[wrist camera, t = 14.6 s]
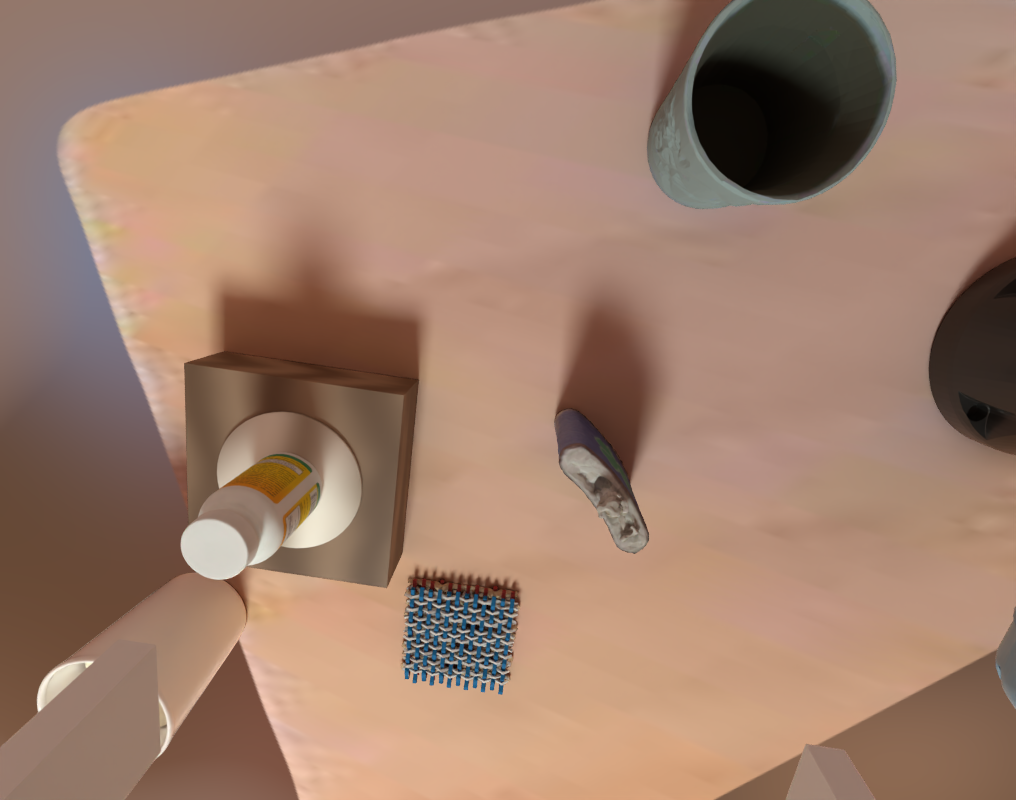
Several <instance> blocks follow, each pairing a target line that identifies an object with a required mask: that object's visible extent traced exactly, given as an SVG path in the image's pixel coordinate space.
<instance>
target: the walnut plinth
mask: <svg viewBox="0 0 1016 800" xmlns="http://www.w3.org/2000/svg"><path fill="white" fill-rule="evenodd" d="M184 370H185V410H186V451H187V491H188V526H189V525H190V524H191V523H192V522H193V521H194V520H196V519H197V518H198V515H199V512H200V509H201V507H202V505H203V503H204V502H205V501H206V499H207V498H208V497H209V496H211V495H212V494H213V493H214V492H216V491H217V490H219V489H220V488H221V487H223V486H224V485H226V484H227V483H228V482H230V481H231V480H233V479H234V478H236V477H237V476H238V475H240V474H241V473H243V472H244V471H245V470H247V469H248V468H250V467H251V466H253V465H254V464H256V463H257V462H258V461H260V460H261V459H263V458H264V457H266V456H268V455H271V454H274V453H280V452H287V453H292V454H295V455H298V456H300V457H302V458H303V459H305V460H307V461H308V462H309V463H311V464H312V465H313V466H314V468H315V469H316V471H317V472H318V474H319V476H320V479H321V482H322V496H321V499H320V502H319V504H318V505H317V507H316V508H315V509H314V511H313V512H312V513H311V514H310V515H309V516H308V517H307V518H306V519H305V520H304V522H303V523H302V524H301V525H300V526H299V527H298V528H297V529H296V530H295V531H294V532H293V534H292V535H291V536H290V537H289V538H288V539H287V540H286V541H285V542H284V543H283V545H282V546H281V547H280V548H279V549H278V550H277V551H276V552H275V553H274V554H273V555H272V556H271V557H269V558H268V559H266V560H265V561H263V562H260V563H258V564H254V565H248V566H246V567H251V568H257V569H264V570H271V571H277V572H284V573H291V574H297V575H304V576H311V577H317V578H324V579H330V580H337V581H344V582H350V583H357V584H364V585H370V586H377V587H384V588H387V586H388V584H389V582H390V580H391V578H392V575H393V573H394V571H395V569H396V566H397V564H398V562H399V560H400V558H401V555H402V549H403V539H404V529H405V518H406V508H407V497H408V487H409V476H410V466H411V455H412V445H413V434H414V424H415V413H416V403H417V393H418V382H419V380H416V379H409V378H402V377H395V376H389V375H382V374H375V373H368V372H361V371H354V370H347V369H341V368H334V367H327V366H320V365H313V364H306V363H299V362H293V361H286V360H279V359H272V358H265V357H258V356H252V355H245V354H238V353H231V352H220V353H217V354H214V355H210V356H207V357H204V358H200V359H197V360H193V361H190V362H187V363H184Z"/></svg>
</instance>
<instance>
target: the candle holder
mask: <svg viewBox="0 0 1016 800" xmlns="http://www.w3.org/2000/svg"><path fill="white" fill-rule="evenodd" d="M245 624H246V609H245V606H244V603H243V601H242V599H241V597H240V596H239V594H238V593H237V592H236V590H235V589H234V588H233V587H232V586H231V585H229V584H228V583H227V582H225V581H224V580H215V579H210V578H207V577H204V576H202V575H200V574H199V573H197V572H191V573H185V574H182V575H179V576H177V577H175V578H173V579H172V580H170V581H168V582H167V583H165V584H164V585H163V586H162V587H160V588H159V589H158V590H156V591H155V592H153V593H152V594H151V595H150V596H148V597H147V598H146V599H144V600H143V601H142V602H140V603H139V604H138V605H137V606H135V607H134V608H133V609H132V610H130V611H129V612H128V613H126V614H125V615H124V616H122V617H121V618H120V619H119V620H117V621H116V622H115V623H113V624H112V625H111V626H109V627H108V628H107V629H106V630H104V631H103V632H102V633H100V634H99V635H98V636H97V637H95V638H94V639H93V640H91V641H90V642H89V643H88V644H86V645H85V646H84V647H82V648H81V649H80V650H79V651H77V652H76V653H74V654H73V655H72V656H71V657H69V658H68V659H67V660H66V661H64V662H62V663H60V664H59V665H57V666H56V667H55V668H53V669H52V670H51V671H50V672H49V673H48V674H47V675H46V677H45V678H44V679H43V681H42V683H41V685H40V687H39V691H38V696H37V707H38V712H39V711H40V710H42V709H43V708H44V707H45V706H46V705H47V704H48V703H49V702H50V701H51V700H53V699H54V698H55V697H56V696H57V695H58V694H59V693H60V692H61V691H62V690H63V689H65V688H66V687H67V686H68V685H69V684H70V683H71V682H72V681H73V680H74V679H76V678H77V677H78V676H79V675H80V674H81V673H82V672H83V671H84V670H85V669H86V668H88V667H89V666H90V665H91V664H92V663H93V662H94V661H95V660H96V659H97V658H98V657H100V656H101V655H102V654H103V653H104V652H105V651H106V650H107V649H108V648H109V647H111V646H112V645H113V644H114V643H115V642H116V641H117V640H118V639H122V640H129V641H135V642H142V643H148V644H155V645H156V654H157V676H158V697H159V719H160V741H161V752H160V754H159V755H158V756H157V758H158V757H159V756H160V755H161V754H162V753H163V752H164V750H165V749H166V747H167V746H168V745H169V743H170V741H171V739H172V737H173V736H174V734H175V732H176V731H177V730H178V728H179V727H180V725H181V724H182V722H183V721H184V719H185V718H186V716H187V715H188V713H189V712H190V711H191V709H192V708H193V706H194V705H195V703H196V702H197V700H198V699H199V697H200V696H201V694H202V693H203V691H204V690H205V688H206V687H207V685H208V684H209V682H210V681H211V680H212V678H213V677H214V675H215V674H216V672H217V671H218V669H219V668H220V666H221V665H222V663H223V662H224V660H225V659H226V657H227V656H228V654H229V653H230V652H231V650H232V649H233V647H234V645H235V644H236V642H237V641H238V639H239V638H240V636H241V634H242V632H243V630H244V628H245Z"/></svg>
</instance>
